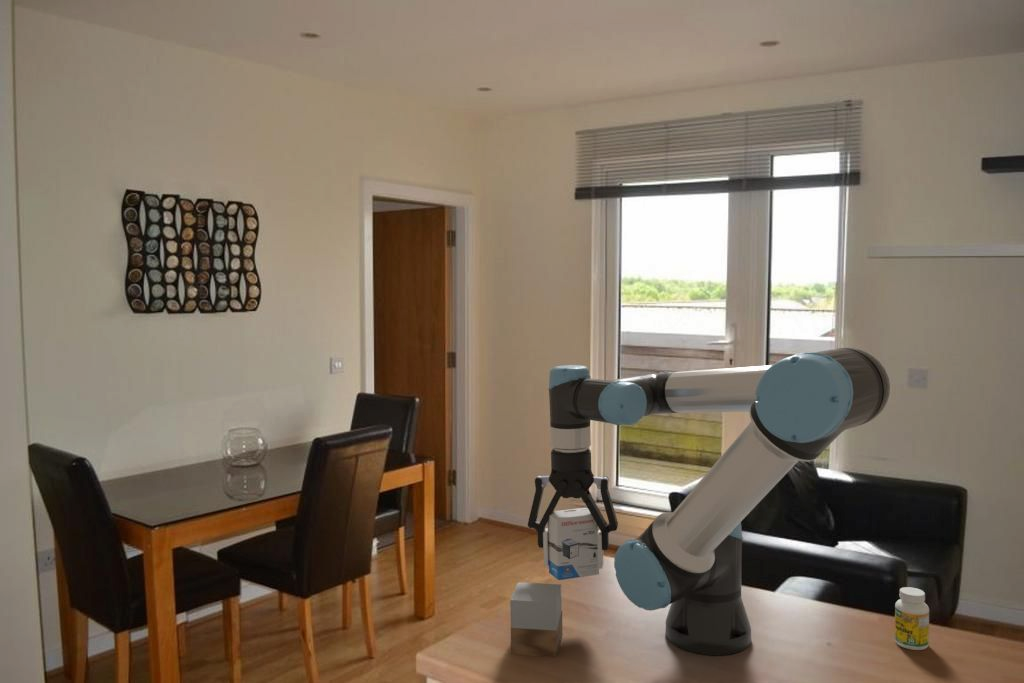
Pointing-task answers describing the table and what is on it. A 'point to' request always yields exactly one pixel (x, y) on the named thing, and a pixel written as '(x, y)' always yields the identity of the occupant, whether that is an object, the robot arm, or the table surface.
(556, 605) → the grey block
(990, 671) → the table surface
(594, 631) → the table surface
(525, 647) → the walnut block
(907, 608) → the supplement bottle
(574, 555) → the ink box
